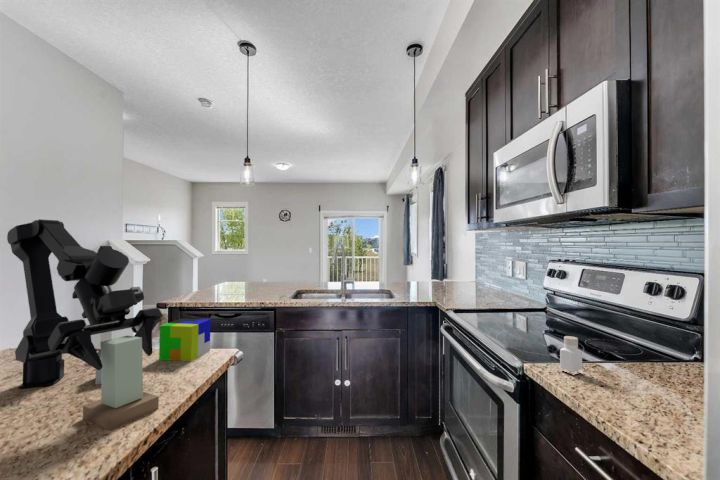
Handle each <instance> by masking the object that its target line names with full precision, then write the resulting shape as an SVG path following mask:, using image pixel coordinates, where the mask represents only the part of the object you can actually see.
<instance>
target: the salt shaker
mask: <svg viewBox="0 0 720 480" xmlns="http://www.w3.org/2000/svg"><path fill="white" fill-rule="evenodd" d="M563 344H564V345H563V346H564V347H562V348H560V350H559V365H560V366H559V368H560V367H561V368H563V369H566V370H569V371H572V372H575V371H578V370H580V369H582V370H583V351H581V350H580V349H578V348H579V347H578V346H579V338H578V337H577V336H576V337H575V336H572V335H571V336H570V335H565V336H563Z"/></svg>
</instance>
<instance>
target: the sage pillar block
mask: <svg viewBox="0 0 720 480" xmlns="http://www.w3.org/2000/svg"><path fill="white" fill-rule="evenodd" d="M134 336H135V335H125V336H120V337H116V338H112V339H107V340H102V341H100V349H101V363H102V366H103V367H102V368H101V384H100V386H101V388H100V389H101V390H100V391H101V397H100V400H101V401H102V404H105V405H108V406H111V407H114V408H118V407H120V406H123V405H125V404H128V403H130V402H133V401H135V400H138V399H140V398H143V392H144V381H143V379H144V378H143V377H144V375H143V349H142V338H141V337H134Z"/></svg>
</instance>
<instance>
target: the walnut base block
mask: <svg viewBox="0 0 720 480" xmlns="http://www.w3.org/2000/svg"><path fill="white" fill-rule="evenodd" d="M159 398H160V397H159V395H155V394H152V393H148V392H146V391H143V398H140V399H138V400H135V401H133V402H130V403H128V404H125V405H123V406H120V407H118V408H114V407H111V406H108V405H105V404H102V401H101V399H97V400H95V401H92V402H90V403H88V404H84V405H82V420H84V421H86V422H89V423H92V424H93V425H96V426H99V427H101V428H104V429H107V430H109V431H113V430H114V429H117V428H119V427H120V426H123V425H125V424H128V423H130V422H132V421H134V420H137V419H139V418H141V417H144V416H146V415H148V414H150V413H152V412H155V411H157V410H159V401H160V399H159Z"/></svg>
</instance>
